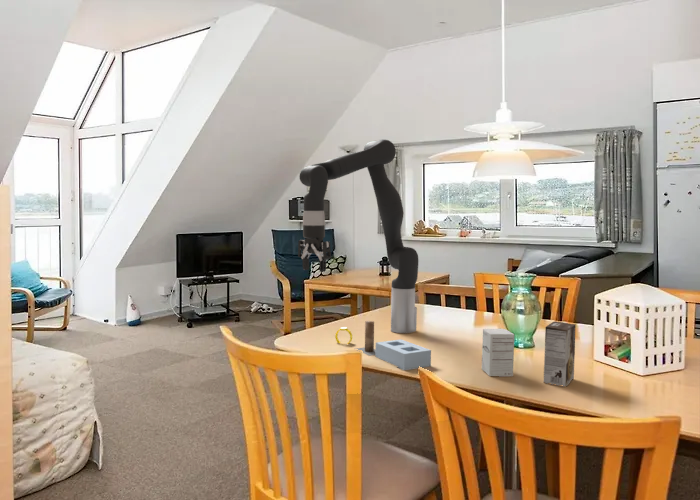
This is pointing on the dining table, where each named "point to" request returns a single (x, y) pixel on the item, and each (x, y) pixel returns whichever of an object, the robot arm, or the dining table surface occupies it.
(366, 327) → the dowel
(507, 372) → the supplement box
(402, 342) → the hole block
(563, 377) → the coffee box
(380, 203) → the robot arm
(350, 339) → the watch
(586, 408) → the dining table surface
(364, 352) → the mat
